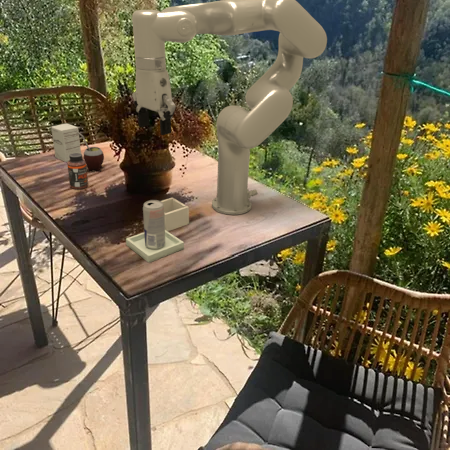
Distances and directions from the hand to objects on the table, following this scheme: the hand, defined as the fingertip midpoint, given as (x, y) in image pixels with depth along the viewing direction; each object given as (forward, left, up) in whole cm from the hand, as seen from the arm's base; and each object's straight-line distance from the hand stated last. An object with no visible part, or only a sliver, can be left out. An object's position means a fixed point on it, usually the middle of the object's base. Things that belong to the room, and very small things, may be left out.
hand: (154, 129), depth 123 cm
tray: (+10, +13, -27) cm, 32 cm away
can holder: (-1, +4, -27) cm, 27 cm away
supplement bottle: (+8, -36, -27) cm, 46 cm away
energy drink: (+10, +13, -27) cm, 31 cm away
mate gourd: (-3, -47, -27) cm, 54 cm away
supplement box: (-1, -64, -27) cm, 69 cm away
